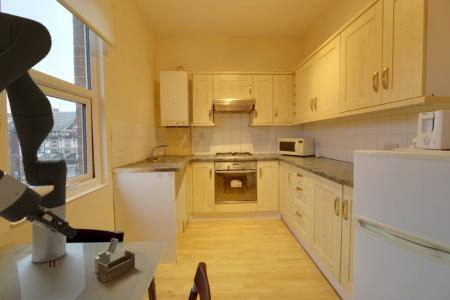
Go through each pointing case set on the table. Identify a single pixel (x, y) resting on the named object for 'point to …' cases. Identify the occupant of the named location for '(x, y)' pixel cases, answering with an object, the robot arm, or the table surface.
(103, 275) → the open wooden box
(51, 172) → the robot arm
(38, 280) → the table surface
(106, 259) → the lighter
